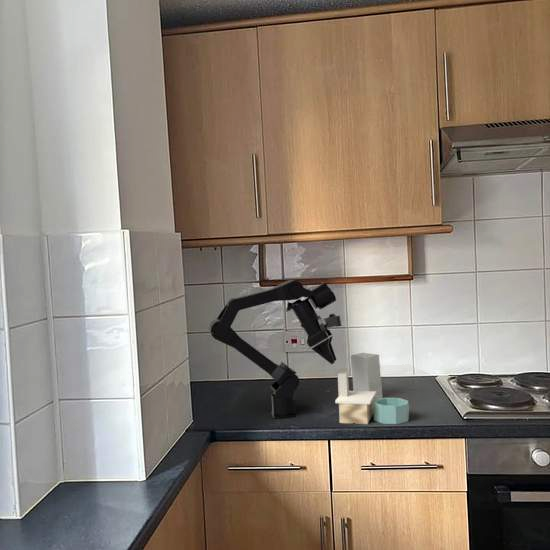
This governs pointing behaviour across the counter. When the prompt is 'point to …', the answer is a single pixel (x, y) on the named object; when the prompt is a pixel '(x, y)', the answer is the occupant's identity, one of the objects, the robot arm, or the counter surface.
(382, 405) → the bowl
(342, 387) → the lid
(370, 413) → the block
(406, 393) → the counter surface
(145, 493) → the counter surface
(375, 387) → the skincare box
